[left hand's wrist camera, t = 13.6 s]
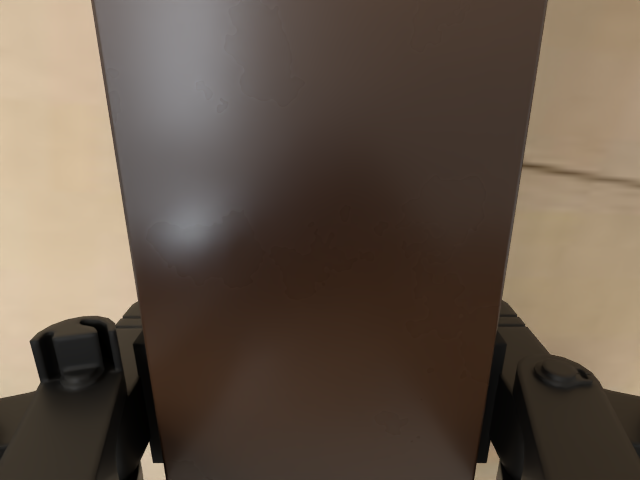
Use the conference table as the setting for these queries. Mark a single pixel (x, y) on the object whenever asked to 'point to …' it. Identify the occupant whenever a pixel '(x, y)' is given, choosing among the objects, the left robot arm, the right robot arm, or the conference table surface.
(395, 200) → the beam
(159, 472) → the conference table surface
